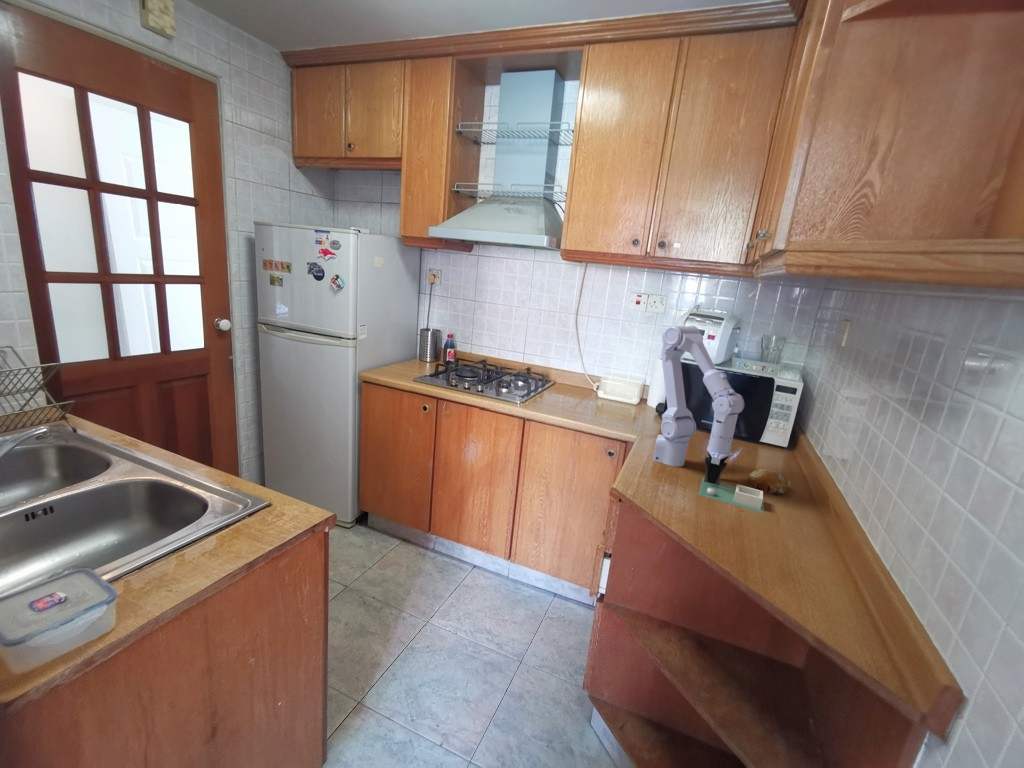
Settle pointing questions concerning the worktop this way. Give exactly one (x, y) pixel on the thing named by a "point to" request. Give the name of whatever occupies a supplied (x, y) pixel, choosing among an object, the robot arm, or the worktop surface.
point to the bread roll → (767, 481)
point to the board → (724, 494)
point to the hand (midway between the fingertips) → (712, 478)
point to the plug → (716, 481)
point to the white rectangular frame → (748, 496)
